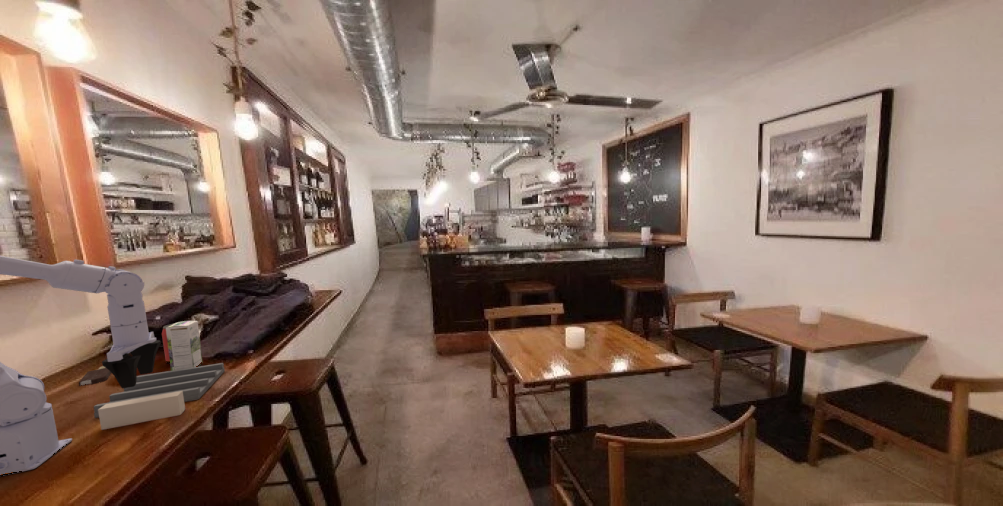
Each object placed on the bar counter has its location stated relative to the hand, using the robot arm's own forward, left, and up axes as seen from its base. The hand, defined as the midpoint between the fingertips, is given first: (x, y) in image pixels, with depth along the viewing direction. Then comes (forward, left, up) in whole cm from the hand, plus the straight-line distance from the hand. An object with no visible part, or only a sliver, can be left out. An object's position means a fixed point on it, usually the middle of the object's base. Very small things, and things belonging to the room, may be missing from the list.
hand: (138, 379), depth 82 cm
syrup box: (+31, +4, -10) cm, 33 cm away
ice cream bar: (+37, +28, -10) cm, 47 cm away
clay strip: (-1, 0, -10) cm, 10 cm away
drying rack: (+14, +2, -9) cm, 17 cm away
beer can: (+41, +10, -10) cm, 43 cm away
